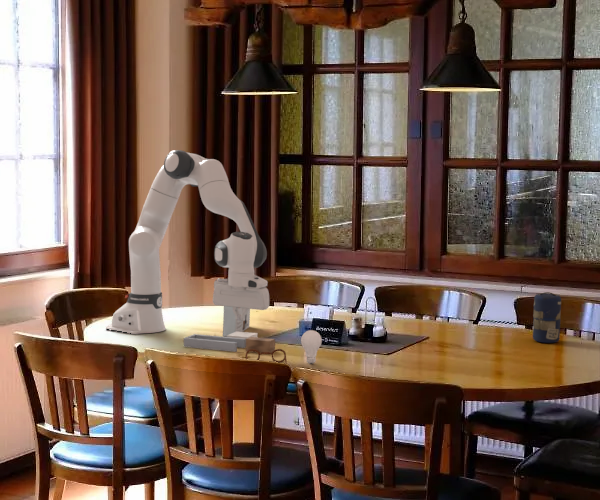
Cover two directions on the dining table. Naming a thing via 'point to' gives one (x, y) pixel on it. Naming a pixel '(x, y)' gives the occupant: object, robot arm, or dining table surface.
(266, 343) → the walnut blank
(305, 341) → the light bulb
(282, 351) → the glasses
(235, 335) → the ceramic pedestal
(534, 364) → the dining table surface
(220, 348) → the grey rectangular tray
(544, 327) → the canister
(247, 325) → the skincare box
